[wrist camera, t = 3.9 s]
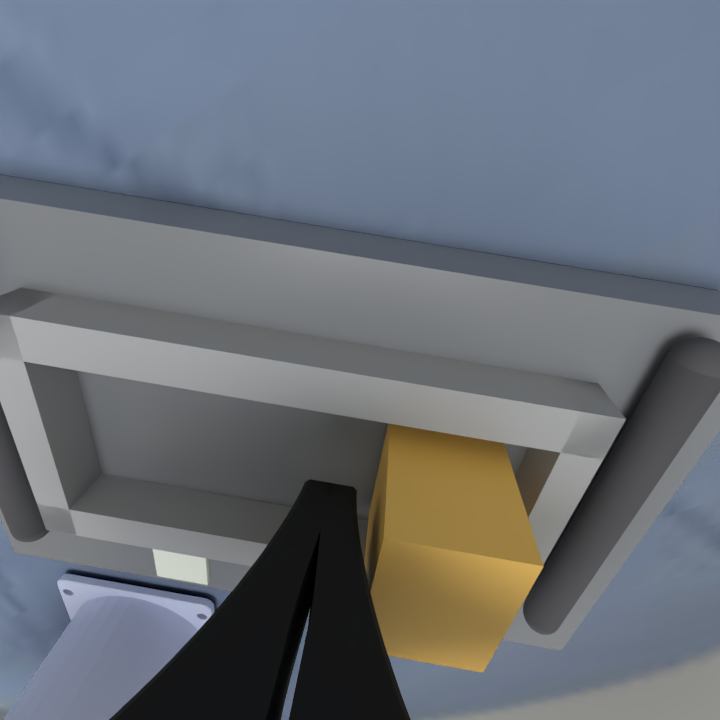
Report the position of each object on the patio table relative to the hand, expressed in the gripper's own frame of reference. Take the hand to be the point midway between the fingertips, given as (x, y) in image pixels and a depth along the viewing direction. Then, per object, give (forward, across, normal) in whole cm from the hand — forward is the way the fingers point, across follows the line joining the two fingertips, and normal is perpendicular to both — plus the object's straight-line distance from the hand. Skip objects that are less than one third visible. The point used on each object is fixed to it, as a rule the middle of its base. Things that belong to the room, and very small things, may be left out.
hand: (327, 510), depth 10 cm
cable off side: (+2, -8, 0) cm, 8 cm away
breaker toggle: (+2, -3, 0) cm, 3 cm away
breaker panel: (+5, +1, +1) cm, 5 cm away
